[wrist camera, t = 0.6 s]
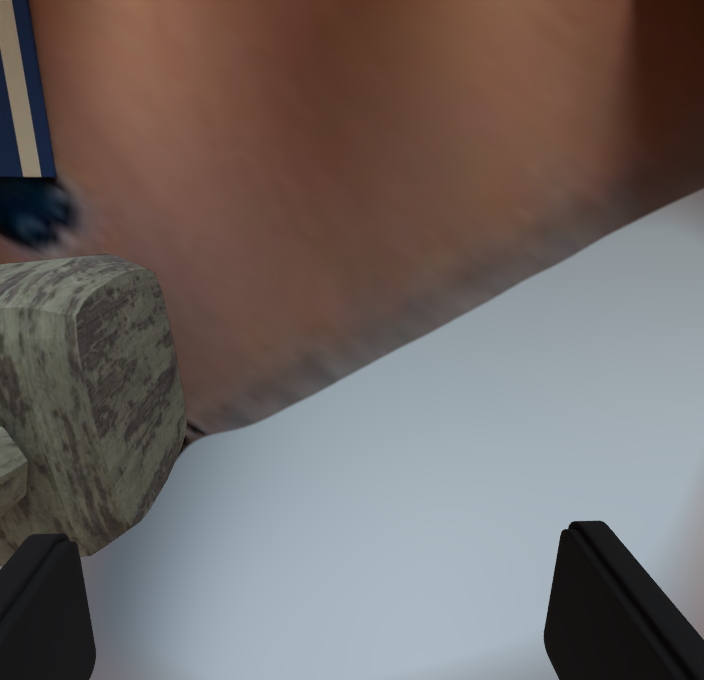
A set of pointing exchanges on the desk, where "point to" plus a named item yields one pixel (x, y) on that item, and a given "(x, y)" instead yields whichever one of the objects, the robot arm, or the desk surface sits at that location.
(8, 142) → the cloth mat
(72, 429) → the tabletop clock
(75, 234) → the desk surface
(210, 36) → the desk surface
